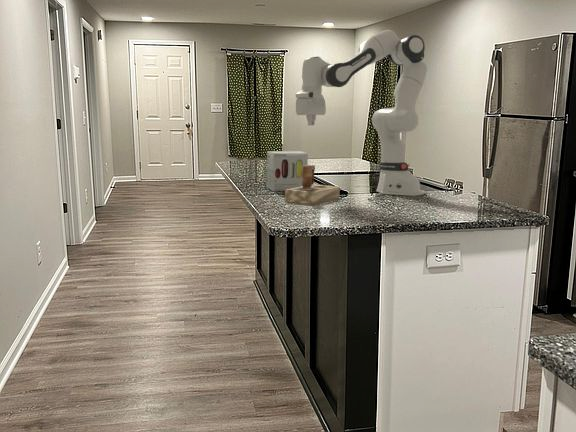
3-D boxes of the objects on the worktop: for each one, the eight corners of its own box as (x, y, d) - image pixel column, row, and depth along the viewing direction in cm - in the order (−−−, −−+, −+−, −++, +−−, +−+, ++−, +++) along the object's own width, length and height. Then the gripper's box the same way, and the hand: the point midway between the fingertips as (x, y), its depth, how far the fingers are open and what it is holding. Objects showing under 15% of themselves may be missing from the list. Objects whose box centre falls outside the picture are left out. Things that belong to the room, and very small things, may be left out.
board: (339, 197, 258) (339, 186, 257) (313, 204, 240) (313, 192, 239) (312, 195, 266) (312, 183, 265) (285, 201, 248) (285, 189, 247)
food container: (293, 182, 309) (293, 163, 307) (304, 181, 311) (304, 163, 309) (304, 185, 298) (304, 165, 296) (314, 184, 300) (315, 165, 298)
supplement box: (272, 191, 276) (273, 153, 272) (266, 187, 288) (266, 151, 285) (307, 190, 280) (308, 152, 277) (300, 186, 293) (300, 150, 290)
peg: (313, 198, 250) (313, 165, 247) (308, 199, 246) (308, 166, 243) (305, 197, 252) (305, 165, 249) (300, 198, 248) (300, 166, 246)
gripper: (317, 94, 272) (317, 124, 275) (293, 93, 255) (293, 125, 258) (329, 94, 268) (328, 125, 271) (305, 93, 252) (305, 126, 254)
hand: (311, 125), depth 264 cm, fingers closed
